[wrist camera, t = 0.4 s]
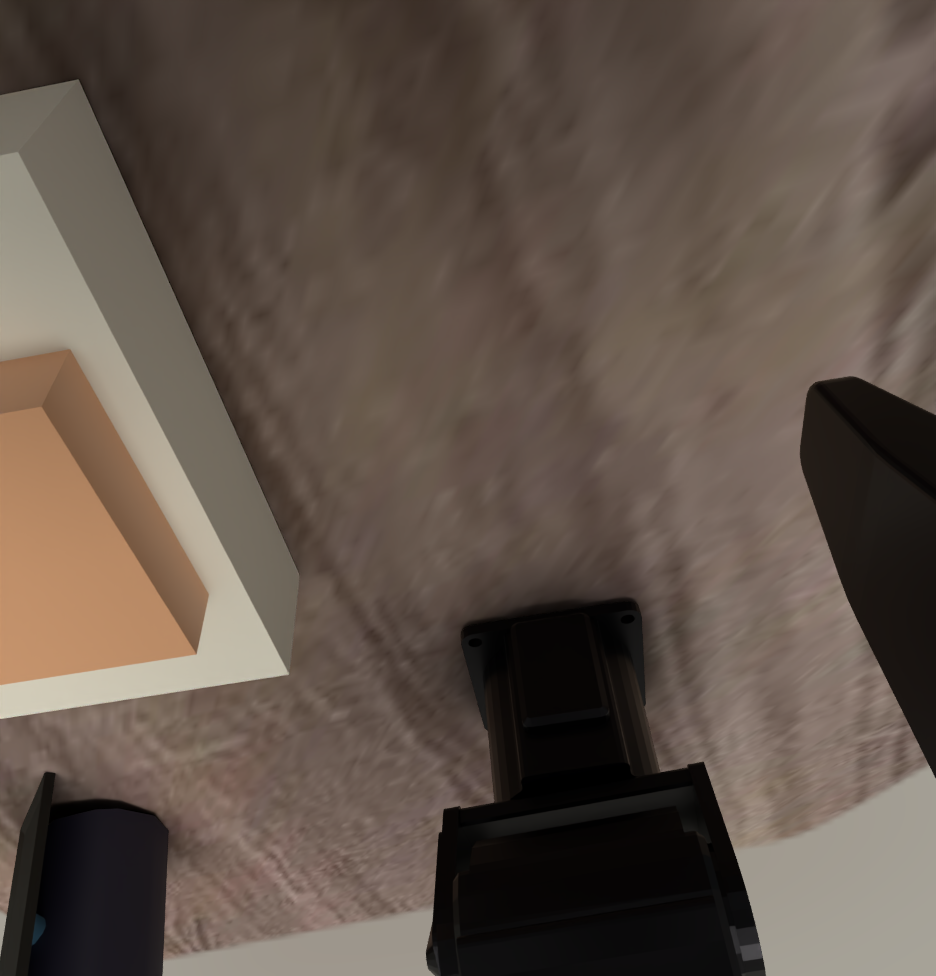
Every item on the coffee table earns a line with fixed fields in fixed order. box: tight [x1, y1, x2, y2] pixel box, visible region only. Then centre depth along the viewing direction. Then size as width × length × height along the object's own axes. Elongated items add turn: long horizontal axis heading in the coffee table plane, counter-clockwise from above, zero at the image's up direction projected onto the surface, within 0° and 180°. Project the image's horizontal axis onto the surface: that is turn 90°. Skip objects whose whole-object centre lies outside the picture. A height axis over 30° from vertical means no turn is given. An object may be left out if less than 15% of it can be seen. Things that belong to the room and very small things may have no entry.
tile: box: [0, 349, 209, 685], centre depth 20 cm, size 8×6×2 cm
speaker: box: [0, 773, 168, 976], centre depth 36 cm, size 8×6×10 cm
